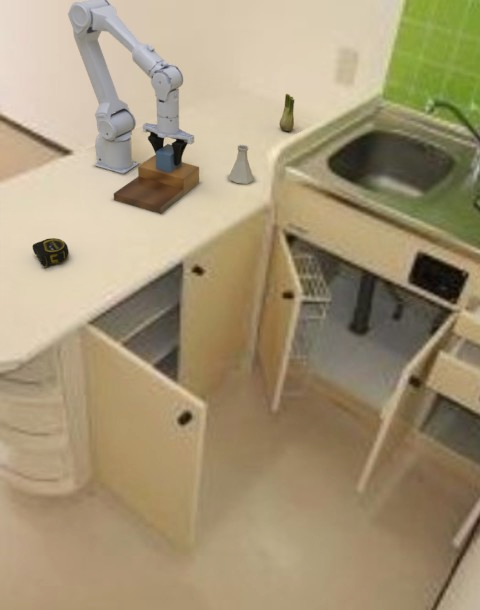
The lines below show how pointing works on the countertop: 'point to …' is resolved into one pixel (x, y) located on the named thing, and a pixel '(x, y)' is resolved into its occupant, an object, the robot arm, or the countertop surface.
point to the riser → (158, 186)
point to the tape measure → (51, 251)
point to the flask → (241, 167)
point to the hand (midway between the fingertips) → (168, 162)
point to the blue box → (166, 159)
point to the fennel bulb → (287, 114)
